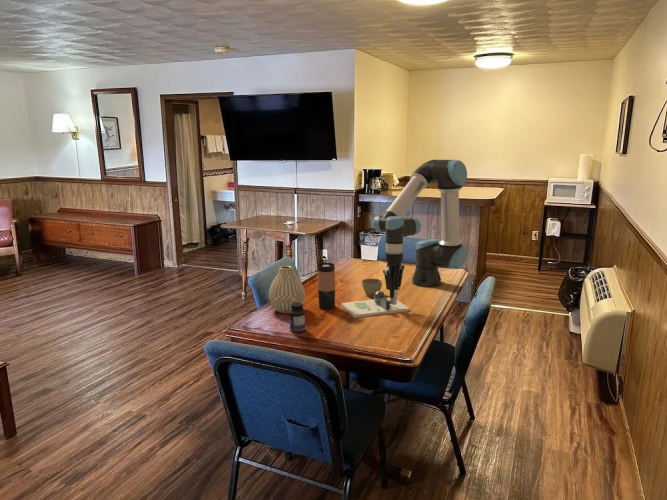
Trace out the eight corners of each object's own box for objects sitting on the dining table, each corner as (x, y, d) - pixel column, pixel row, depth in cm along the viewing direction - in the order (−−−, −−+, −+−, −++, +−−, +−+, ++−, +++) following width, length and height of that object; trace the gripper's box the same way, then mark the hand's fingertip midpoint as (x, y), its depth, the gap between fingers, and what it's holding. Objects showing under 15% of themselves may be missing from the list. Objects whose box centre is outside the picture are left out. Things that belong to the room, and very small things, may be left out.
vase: (277, 318, 206) (275, 273, 202) (264, 308, 220) (262, 265, 216) (310, 312, 214) (309, 268, 209) (296, 302, 227) (295, 261, 223)
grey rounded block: (372, 301, 222) (373, 290, 221) (381, 300, 223) (381, 289, 222) (383, 309, 210) (383, 298, 209) (392, 308, 212) (392, 297, 210)
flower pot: (381, 298, 231) (381, 284, 230) (360, 297, 233) (360, 283, 232) (383, 292, 241) (383, 278, 239) (363, 291, 243) (363, 277, 241)
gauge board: (393, 299, 230) (393, 296, 229) (409, 311, 214) (409, 307, 213) (341, 305, 222) (341, 302, 222) (353, 317, 206) (353, 314, 206)
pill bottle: (290, 327, 196) (289, 302, 194) (305, 327, 197) (304, 301, 194) (290, 333, 190) (289, 307, 188) (305, 333, 190) (304, 306, 188)
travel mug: (337, 305, 222) (337, 263, 218) (332, 310, 215) (331, 267, 211) (322, 303, 225) (321, 262, 221) (316, 309, 218) (315, 266, 214)
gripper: (396, 248, 217) (395, 298, 222) (378, 253, 208) (377, 305, 213) (409, 251, 212) (408, 302, 217) (392, 256, 203) (391, 309, 208)
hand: (393, 303), depth 215 cm, fingers closed
